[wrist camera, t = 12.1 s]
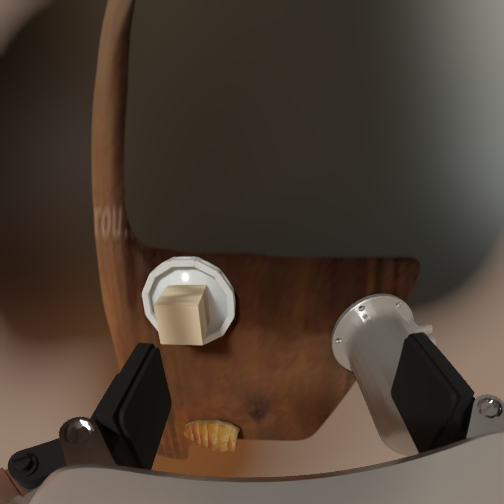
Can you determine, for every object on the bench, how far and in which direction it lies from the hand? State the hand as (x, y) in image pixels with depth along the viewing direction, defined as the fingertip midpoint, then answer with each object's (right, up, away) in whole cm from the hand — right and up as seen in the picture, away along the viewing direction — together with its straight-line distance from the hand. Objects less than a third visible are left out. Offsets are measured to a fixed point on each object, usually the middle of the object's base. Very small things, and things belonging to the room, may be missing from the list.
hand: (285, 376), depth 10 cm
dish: (-9, -2, +28) cm, 30 cm away
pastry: (-7, -26, +35) cm, 45 cm away
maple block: (-9, -2, +27) cm, 29 cm away
